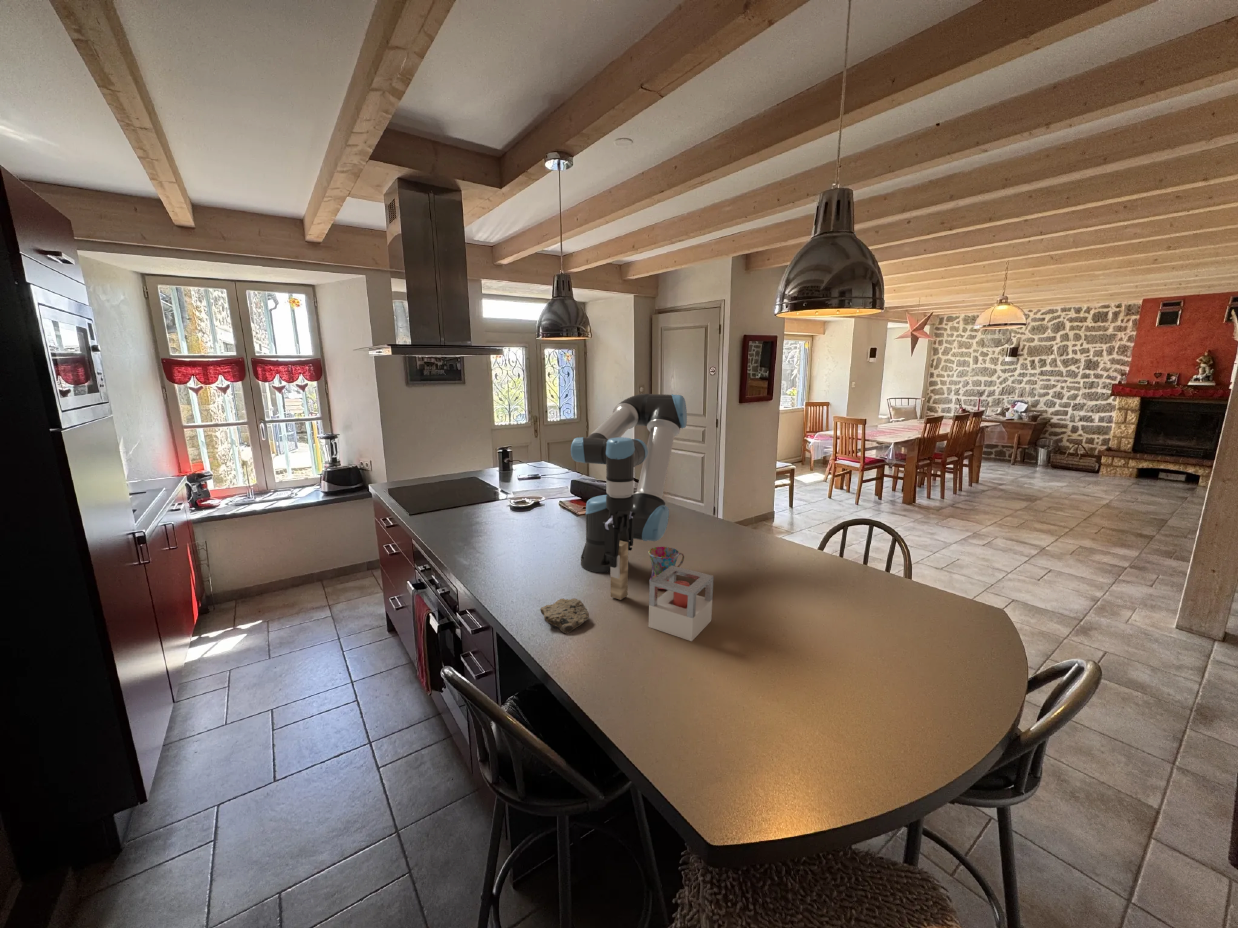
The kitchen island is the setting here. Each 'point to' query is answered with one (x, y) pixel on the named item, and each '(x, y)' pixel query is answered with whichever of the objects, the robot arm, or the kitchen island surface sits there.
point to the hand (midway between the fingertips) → (619, 574)
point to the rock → (565, 614)
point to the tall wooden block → (621, 574)
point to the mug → (663, 559)
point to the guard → (682, 586)
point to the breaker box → (679, 617)
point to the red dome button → (681, 596)
